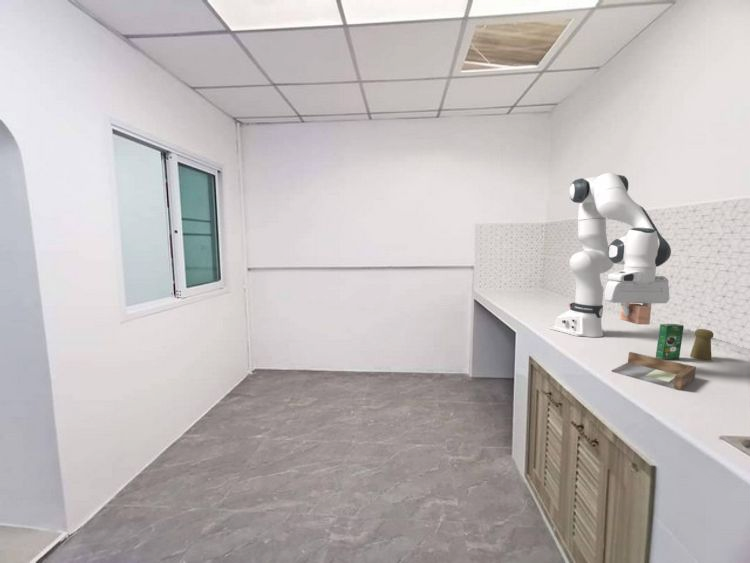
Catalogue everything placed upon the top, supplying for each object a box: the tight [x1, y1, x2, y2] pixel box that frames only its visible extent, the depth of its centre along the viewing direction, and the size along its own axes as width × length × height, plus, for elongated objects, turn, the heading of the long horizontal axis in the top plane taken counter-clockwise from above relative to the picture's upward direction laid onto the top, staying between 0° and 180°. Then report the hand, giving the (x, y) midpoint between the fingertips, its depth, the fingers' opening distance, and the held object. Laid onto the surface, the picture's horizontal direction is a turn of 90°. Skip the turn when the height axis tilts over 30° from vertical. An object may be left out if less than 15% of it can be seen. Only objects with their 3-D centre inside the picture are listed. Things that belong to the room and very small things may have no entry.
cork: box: [689, 328, 714, 362], centre depth 133 cm, size 6×6×11 cm
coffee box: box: [655, 323, 685, 360], centre depth 132 cm, size 8×3×13 cm, turn 101°
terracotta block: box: [620, 303, 652, 325], centre depth 121 cm, size 8×4×6 cm, turn 2°
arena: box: [611, 351, 697, 391], centre depth 115 cm, size 18×16×4 cm
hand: (635, 315), depth 121 cm, fingers closed on terracotta block, 4 cm apart
